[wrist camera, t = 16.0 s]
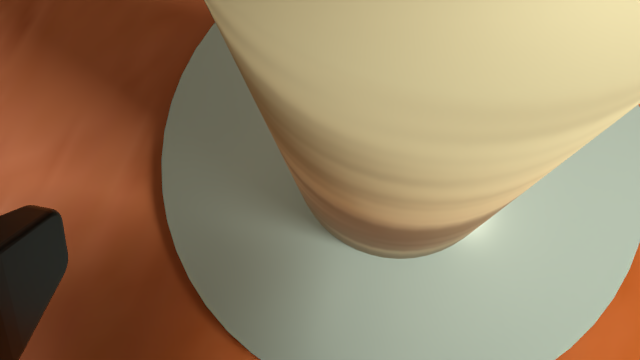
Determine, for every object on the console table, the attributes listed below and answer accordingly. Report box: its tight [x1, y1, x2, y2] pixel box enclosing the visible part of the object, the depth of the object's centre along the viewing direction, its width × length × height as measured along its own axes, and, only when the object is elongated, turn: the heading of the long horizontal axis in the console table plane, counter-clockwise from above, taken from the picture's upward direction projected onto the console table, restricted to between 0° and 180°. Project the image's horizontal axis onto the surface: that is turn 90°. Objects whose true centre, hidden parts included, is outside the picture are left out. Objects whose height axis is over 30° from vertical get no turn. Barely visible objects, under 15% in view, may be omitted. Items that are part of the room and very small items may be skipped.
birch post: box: [204, 0, 640, 259], centre depth 11 cm, size 6×6×12 cm
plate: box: [161, 23, 640, 360], centre depth 17 cm, size 13×13×1 cm
